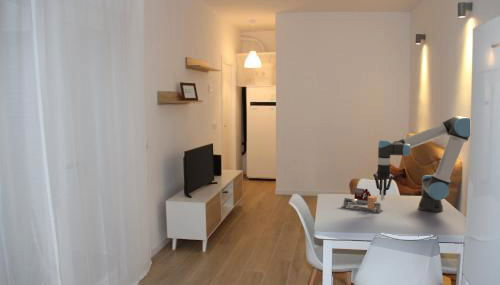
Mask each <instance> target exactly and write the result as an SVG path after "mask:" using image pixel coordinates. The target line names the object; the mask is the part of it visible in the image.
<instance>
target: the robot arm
mask: <svg viewBox="0 0 500 285" xmlns="http://www.w3.org/2000/svg"><path fill="white" fill-rule="evenodd" d="M470 119H471V118H469V117H467V116H460V115H455V116H453V117H450V118H449V119H446V120H444V121H442V122H440V124H438V125H436V126H433V127H430V128H428V129H425V130H423V131H420V132H418V133H415V134H412V135H410V136H408V137H405V138H402V139H400V140H394V141H393V142H392V141H391V140H388V139H381V140H379V141H378V148H377V150H378V151H377V171H376V173H373V174H372V176H373V177H374V182H375V187H376V189H377V190H379V195H380V201H383V202H384V200H385V196H386V195H387V191H389V190H390V188H391V184H392V181H393V178H394V177H395V176H394V175H393V174H392V173H391V165H390V164H391V156H403V157H406V156H407V157H408V156H410V155H411V151H412V150H411V149H412V148H415V147H417V146H421V145H422V144H423V145H424V144H426V143H428V142H430V141H433V140H436V139H438V138H443V137H444V136H445V137H449V138H448V141H447V142H446V143H447V144H446V146H445V149H444V151H443V153H442V156H441V158H440V161H439V163H438V166H437V169H436V171H435V173H433V174H431V175H429V174H425V175H423V176H422V178H421V181H422V182H421V198H420V201H419V203H418V210H421V211H423V212H430V213H440V212H443V211H444V207H443V202H442V200H444V199H445V198H447V197H448V196H449V193H450V188H449V187H450V185H451V179H450V178H451V176H452V173H453V171H454V168H455V166H456V163H457V160H458V158H459V156H460V153H461V151H462V148H463V145H464V143H466V142H468V141H469V138H470V136H471V135H470ZM378 177H379V178H378ZM388 178H389V179H388Z"/></svg>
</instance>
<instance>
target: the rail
mask: <svg viewBox="0 0 500 285" xmlns="http://www.w3.org/2000/svg"><path fill="white" fill-rule="evenodd" d="M349 203H352V204H357V205H352V204H349ZM358 204H360V205H367V206H366V207H365V206H359V205H358ZM374 206H376V208H375V209H369V208H368V201H363V200H357V199H354V198H347V197H344V199H343V205H342V206H341V207H340V208H341V209H345V210H352V211H357V212H359V211H360V212H363V213H364V212H366V213H371V214H377V215H379V214H381V213H382V212H383V211H384V210H383V209H382V207H381V203H380V202H374Z"/></svg>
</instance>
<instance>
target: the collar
mask: <svg viewBox="0 0 500 285" xmlns="http://www.w3.org/2000/svg"><path fill="white" fill-rule="evenodd" d="M377 201H378V200H377V196H375V195H371V196H368V205H367V208H369V209H376V206H374V202H377Z"/></svg>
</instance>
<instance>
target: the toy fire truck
mask: <svg viewBox="0 0 500 285" xmlns="http://www.w3.org/2000/svg"><path fill="white" fill-rule="evenodd" d="M353 192H354V195H353V196H354V198H353V199H357V200H363V201H368V197H369V196H372V194H371V192H370V191H369V189H368V188H365V189H364V188H360V187H354V188H353Z"/></svg>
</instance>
